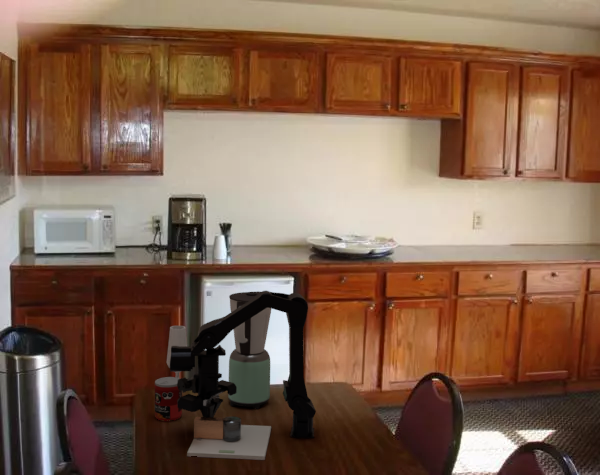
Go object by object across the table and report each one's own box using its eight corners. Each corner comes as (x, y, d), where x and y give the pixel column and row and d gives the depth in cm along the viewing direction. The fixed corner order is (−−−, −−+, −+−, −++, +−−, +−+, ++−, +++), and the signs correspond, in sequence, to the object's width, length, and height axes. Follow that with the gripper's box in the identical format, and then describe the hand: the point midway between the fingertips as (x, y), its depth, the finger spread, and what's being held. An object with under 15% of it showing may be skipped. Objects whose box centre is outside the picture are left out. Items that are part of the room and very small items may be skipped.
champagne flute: (170, 398, 221) (170, 324, 218) (190, 399, 220) (191, 325, 217) (163, 405, 214) (163, 329, 212) (184, 407, 213) (185, 330, 211)
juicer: (237, 391, 229) (239, 287, 225) (276, 396, 226) (279, 290, 222) (217, 412, 210) (218, 298, 206) (259, 417, 207) (262, 301, 203)
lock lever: (241, 434, 191) (242, 416, 190) (239, 441, 186) (239, 423, 185) (196, 432, 191) (196, 414, 191) (193, 439, 186) (193, 421, 186)
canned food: (149, 416, 205) (149, 380, 204) (171, 410, 211) (171, 374, 210) (164, 424, 200) (165, 387, 199) (187, 417, 206) (187, 381, 204)
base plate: (201, 426, 199) (201, 422, 199) (271, 429, 198) (271, 425, 198) (187, 456, 179) (187, 451, 179) (264, 460, 178) (264, 455, 178)
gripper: (207, 357, 202) (207, 408, 204) (162, 373, 186) (162, 429, 188) (238, 364, 196) (237, 417, 198) (193, 381, 180) (193, 439, 182)
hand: (207, 425), depth 192 cm, fingers closed
